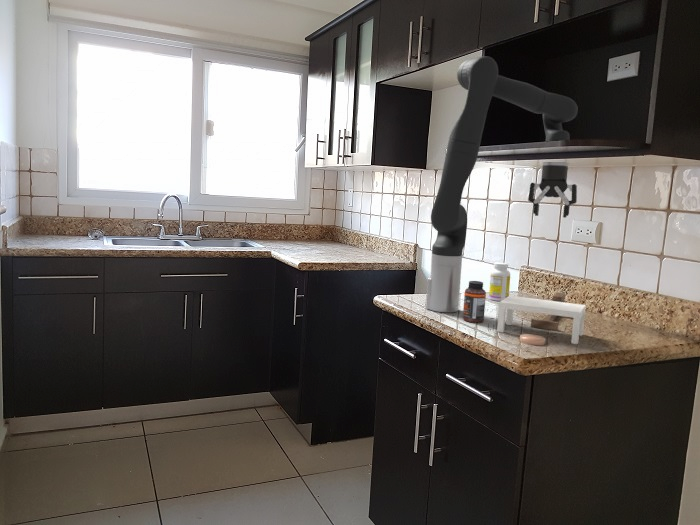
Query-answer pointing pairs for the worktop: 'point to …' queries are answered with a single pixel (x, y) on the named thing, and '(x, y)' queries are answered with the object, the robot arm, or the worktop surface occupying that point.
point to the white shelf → (542, 307)
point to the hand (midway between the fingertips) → (550, 216)
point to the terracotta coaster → (532, 339)
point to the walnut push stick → (549, 316)
